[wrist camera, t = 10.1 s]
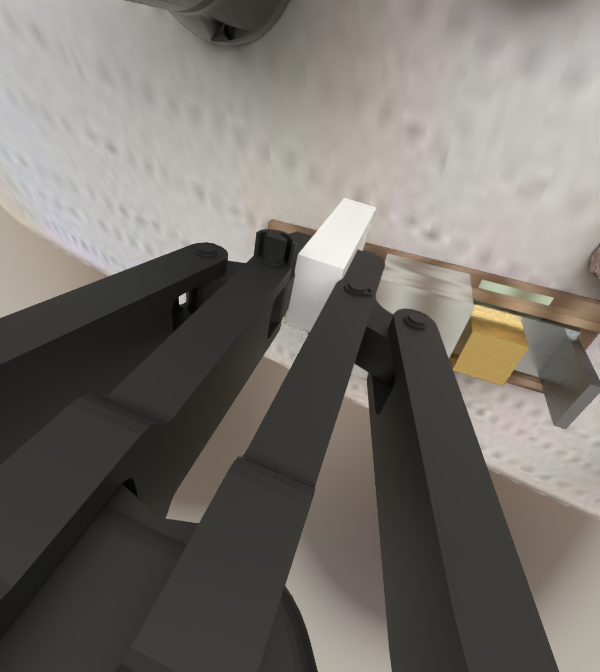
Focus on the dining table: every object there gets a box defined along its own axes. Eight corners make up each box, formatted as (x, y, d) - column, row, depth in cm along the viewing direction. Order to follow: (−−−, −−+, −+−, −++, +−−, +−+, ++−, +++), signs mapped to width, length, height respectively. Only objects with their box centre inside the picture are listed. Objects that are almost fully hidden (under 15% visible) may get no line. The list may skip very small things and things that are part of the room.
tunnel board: (265, 305, 57) (238, 340, 50) (272, 219, 48) (240, 245, 41) (546, 388, 50) (564, 443, 42) (614, 304, 41) (651, 354, 34)
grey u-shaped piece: (325, 311, 52) (305, 351, 44) (335, 264, 47) (314, 300, 40) (543, 375, 47) (562, 432, 39) (578, 328, 42) (607, 383, 34)
